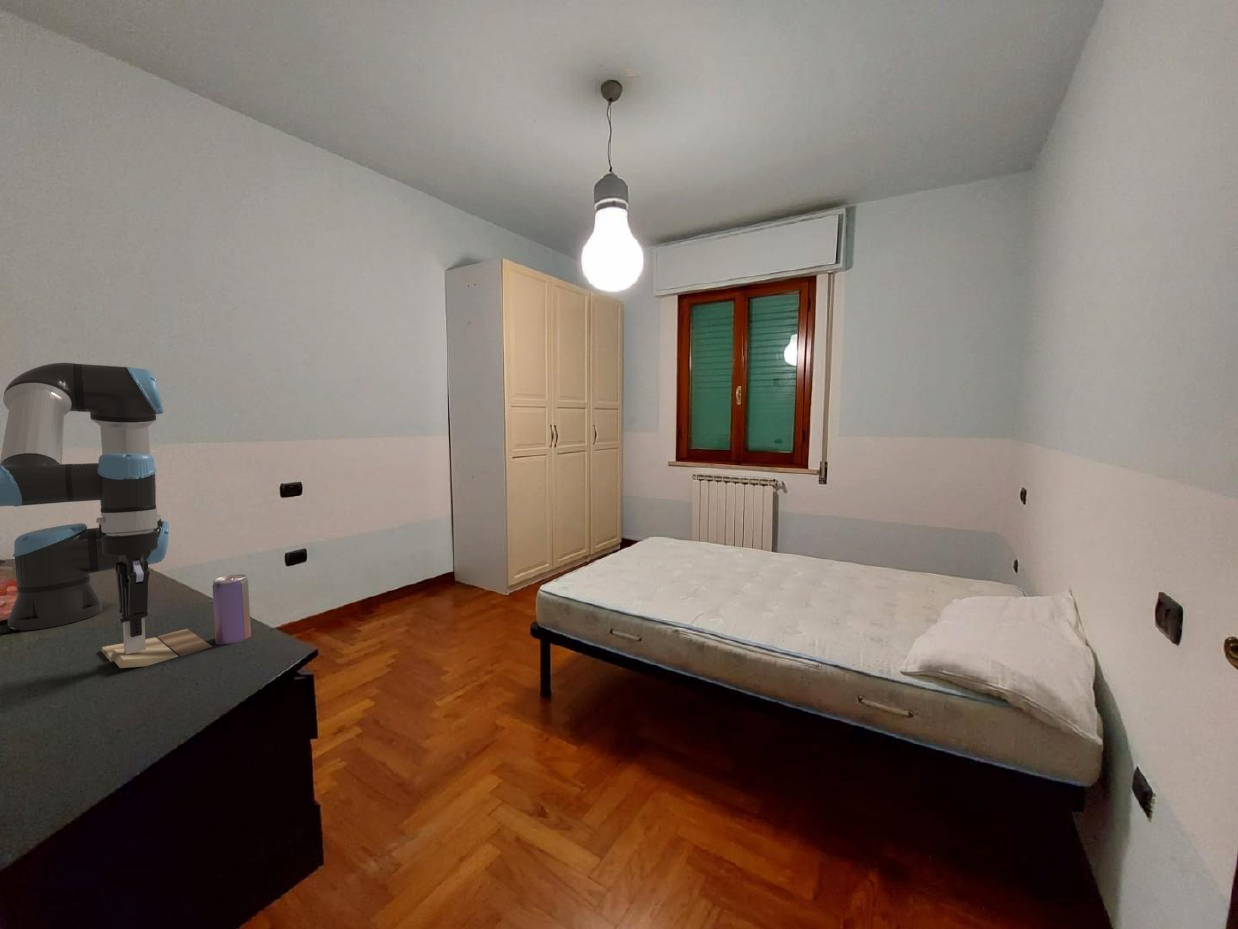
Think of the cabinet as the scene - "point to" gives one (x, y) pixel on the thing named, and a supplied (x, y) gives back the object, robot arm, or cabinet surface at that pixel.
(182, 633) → the laid board
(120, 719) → the cabinet surface
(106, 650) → the oak plank
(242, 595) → the beverage can
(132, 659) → the oak plank
